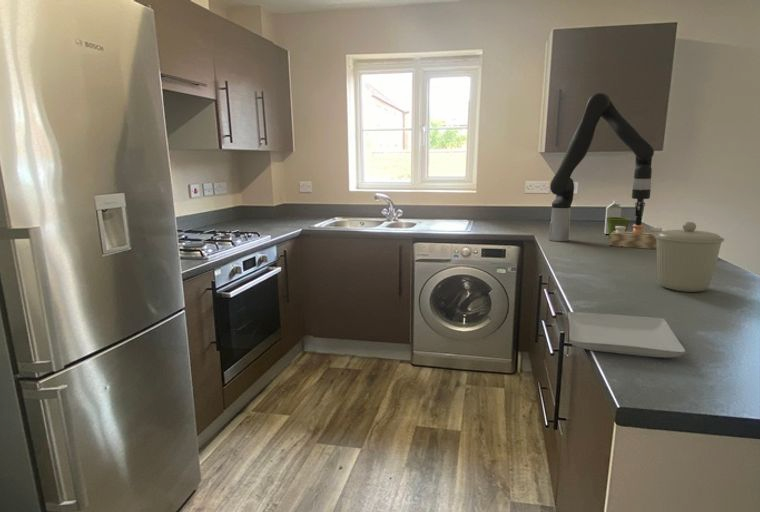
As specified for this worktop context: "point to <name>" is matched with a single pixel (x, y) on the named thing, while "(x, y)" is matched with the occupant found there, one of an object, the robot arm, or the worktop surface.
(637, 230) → the terracotta plug
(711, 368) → the worktop surface
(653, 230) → the cream plug right
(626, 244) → the woven basket
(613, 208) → the milk carton
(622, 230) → the cream plug left
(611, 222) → the plant pot
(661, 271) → the canister
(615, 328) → the salad plate
